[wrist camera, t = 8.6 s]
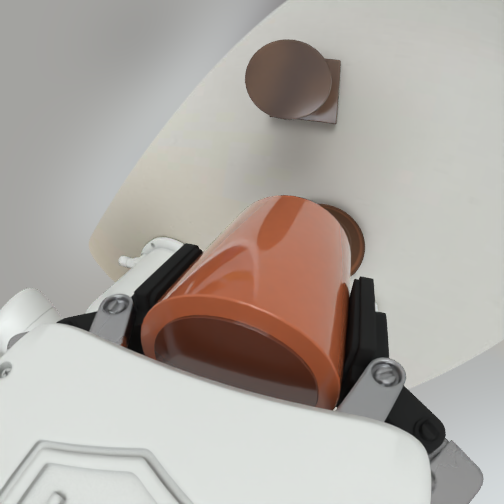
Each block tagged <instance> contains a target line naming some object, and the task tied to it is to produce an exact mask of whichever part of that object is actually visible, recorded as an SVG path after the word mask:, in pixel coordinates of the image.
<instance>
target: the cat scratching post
mask: <svg viewBox="0 0 504 504" xmlns="http://www.w3.org/2000/svg"><path fill="white" fill-rule="evenodd" d="M340 66H341V61H340V60H333V59H324V57H323V56H322V55H321V54H320V53H319V52H318V51H317V50H316V49H315V48H313V47H312V46H310V45H308V44H306V43H303V42H301V41H296V40H278V41H274V42H271V43H269V44H267V45H265V46H263V47H262V48H261V49H259V50H258V51H257V52H256V53H255V54H254V55H253V57H252V58H251V60H250V61H249V64H248V66H247V69H246V75H245V83H246V88H247V92H248V94H249V96H250V98H251V100H252V101H253V102H254V104H255V105H256V106H257V107H258V108H259V109H260V110H262V111H263V112H265V113H266V114H268V115H270V117H276V118H279V119H300V120H309V121H317V122H324V123H332V124H336V122H337V110H338V98H339V83H340Z"/></svg>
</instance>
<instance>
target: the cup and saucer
mask: <svg viewBox="0 0 504 504" xmlns="http://www.w3.org/2000/svg"><path fill="white" fill-rule="evenodd" d="M318 205H320V206H321V207H323V208H324V209H326V210H327V211H328V212H329V213H330V214H331V215H333V216H334V218H335V219H336V220H337V221H338V222H339V223H340V225H341V227H342V228H343V230H344V232H345V234H346V236H347V238H348V242H349V245H350V251H351V270H350V277H351V276H352V275H353V274H354V273H355V272H356V271H357V270H358V268H359V267H360V265H361V263H362V260H363V257H364V252H365V242H364V237H363V234H362V232H361V229H360V228H359V226H358V224H357V223H356V222H355V221H354V219H353V218H352V217H351V216H350V215H348V214H347V213H346V212H344V211H343V210H341V209H339V208H336V207H334V206H330V205H325V204H318Z"/></svg>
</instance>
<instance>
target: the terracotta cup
mask: <svg viewBox="0 0 504 504" xmlns="http://www.w3.org/2000/svg"><path fill="white" fill-rule="evenodd" d="M350 270H351V251H350V245H349V242H348V238H347V236H346V234H345V232H344V230H343V228H342V227H341V225H340V223H339V222H338V221H337V220H336V219H335V218H334V216H333V215H331V214H330V213H329V212H328V211H327V210H326V209H324V208H323V207H321V206H320V205H318V204H316V203H314V202H312V201H310V200H307V199H304V198H300V197H296V196H287V195H280V196H272V197H267V198H264V199H261V200H258V201H256V202H254V203H252V204H251V205H249V206H248V207H247V208H245V209H244V210H243V211H242V212H241V213H240V214H239V215H238V216H237V217H236V218H235V219H234V220H233V221H232V222H231V223H230V224H229V225H228V226H227V227H226V228H225V230H224V231H223V232H222V233H221V234H220V235H219V236H218V237H217V238H216V239H215V240H214V241H213V242H212V243H211V244H210V245H209V246H208V247H207V248H206V249H205V250H204V251H203V253H202V254H201V255H200V256H199V257H198V258H197V259H196V260H195V261H194V262H193V263H192V264H191V265H190V266H189V267H188V268H187V270H186V271H185V272H184V273H183V274H182V275H181V276H180V277H179V278H178V279H177V280H176V281H175V282H174V284H173V285H172V286H171V287H170V288H169V289H168V290H167V291H166V292H165V293H164V294H163V296H162V297H161V298H160V299H159V300H158V301H157V302H156V303H155V304H154V305H153V307H152V308H151V309H150V310H149V311H148V313H147V314H146V316H145V317H144V320H143V323H142V326H141V334H140V335H141V344H142V348H143V352H144V354H145V356H147V357H149V358H152V359H154V360H157V361H159V362H162V363H164V364H167V365H170V366H173V367H175V368H178V369H181V370H184V371H186V372H189V373H192V374H195V375H198V376H201V377H204V378H207V379H210V380H213V381H216V382H220V383H223V384H226V385H229V386H233V387H236V388H240V389H243V390H247V391H250V392H254V393H258V394H261V395H265V396H269V397H273V398H277V399H281V400H286V401H290V402H294V403H299V404H304V405H308V406H313V407H318V408H323V409H328V410H333V409H334V408H335V406H336V405H337V403H338V400H339V397H340V392H341V384H342V376H343V368H344V359H345V349H346V338H347V326H348V312H349V295H350Z"/></svg>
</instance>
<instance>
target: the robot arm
mask: <svg viewBox="0 0 504 504" xmlns="http://www.w3.org/2000/svg"><path fill="white" fill-rule="evenodd" d="M201 254H202V250H201V249H199V247H198V246H197V245H192V244H182V243H181V242H179V241H177V240H175V239H172V238H168V237H159V238H155V239H153V240H151V241H150V242H148V243H147V244H146V245H145V246H144V248H143V250H142V253H141V257H139V258H137V257H135V258H134V259H133V258H131V257H127V256H121V257H120V258H119V265H120V266H124V267H127V268H131V269H130V270H128V272H127V273H126V274H124V275H123V276H122V277H121V278H120V279H119V280H118V281H116V282H115V283H114V284H113V285H112V286H111V287H110V288H109V289H107V290H106V291H105V292H104V293H103V294H102V295H101V296H100V297H99V298H97V299H96V300H95V301H94V302H93V303H92V304H91V305H90V306H89V308H88V309H87V311H86V313H85V314H83V315H78V316H73V317H68V318H63V317H62V316H61V315H60V313H59V312H58V311H57V310H56V308H55V307H54V306H53V304H52V303H51V302H50V301H49V299H48V298H47V297H46V296H45V295H44V294H43V293H42V292H41V291H39V290H38V289H34V288H28V289H24V290H22V291H20V292H19V293H18V294H16V295H15V296H14V297H12V298H11V299H10V300H9V301H8V302H7V303H6V304H5V305H4V306H3V307H2V309H1V310H0V504H469V503H470V501H471V500H472V499H473V498H474V496H475V495H476V494H477V493H478V491H479V490H480V488H481V486H482V484H483V474H482V472H481V470H480V469H479V467H478V466H477V465H476V464H475V463H474V462H473V461H471V459H470V458H469V457H468V456H467V455H466V454H465V453H464V452H463V451H462V450H461V449H460V448H459V447H458V446H457V445H456V444H455V443H454V442H453V441H452V440H451V441H450V442H449V441H448V440H447V439H446V438H445V435H446V434H445V428H444V425H443V424H442V422H441V421H440V420H439V419H438V418H437V417H436V416H435V415H434V414H432V412H431V411H430V410H429V409H427V407H426V406H424V405H423V404H422V403H421V402H420V401H419V400H418V399H417V398H416V397H415V396H414V395H413V394H412V393H411V392H410V391H409V390H408V389H407V388H406V387H405V386H404V383H405V380H406V373H405V370H404V368H403V367H402V366H401V365H400V364H399V363H398V362H396V361H395V360H392V359H390V358H389V348H388V332H387V319H386V314H385V313H382V312H376V311H375V295H374V282H373V279H371V278H365V277H360V278H359V280H357V279H355V280H354V282H353V286H352V290H351V293H350V297H349V312H348V326H347V338H346V349H345V359H344V368H343V376H342V384H341V392H340V397H339V400H338V403H337V405H336V406H335V407H337V409H336V411H333V410H328V409H323V408H318V407H313V406H308V405H304V404H299V403H294V402H290V401H286V400H281V399H277V398H273V397H269V396H265V395H261V394H258V393H254V392H250V391H247V390H243V389H240V388H236V387H233V386H229V385H226V384H223V383H220V382H216V381H213V380H210V379H207V378H204V377H201V376H198V375H195V374H192V373H189V372H186V371H184V370H181V369H178V368H175V367H173V366H170V365H167V364H164V363H162V362H159V361H157V360H154V359H152V358H149V357H147V356H145V354H144V352H143V348H142V344H141V335H140V334H141V326H142V323H143V320H144V317H145V316H146V314H147V313H148V311H149V310H150V309H151V308H152V307H153V305H154V304H155V303H156V302H157V301H158V300H159V299H160V298H161V297H162V296H163V294H164V293H165V292H166V291H167V290H168V289H169V288H170V287H171V286H172V285H173V284H174V282H175V281H176V280H177V279H178V278H179V277H180V276H181V275H182V274H183V273H184V272H185V271H186V270H187V268H188V267H189V266H190V265H191V264H192V263H193V262H194V261H195V260H196V259H197V258H198V257H199V256H200V255H201Z"/></svg>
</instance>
